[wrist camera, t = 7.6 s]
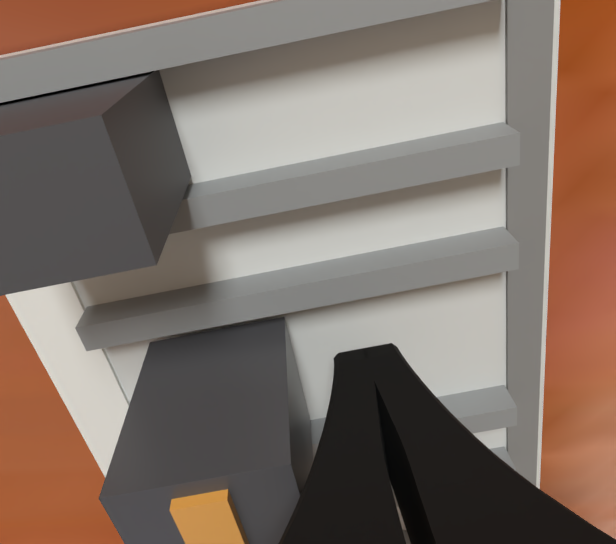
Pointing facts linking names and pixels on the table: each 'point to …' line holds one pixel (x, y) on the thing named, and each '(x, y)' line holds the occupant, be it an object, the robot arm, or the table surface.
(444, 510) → the robot arm
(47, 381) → the table surface
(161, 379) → the block
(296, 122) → the panel
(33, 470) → the table surface
